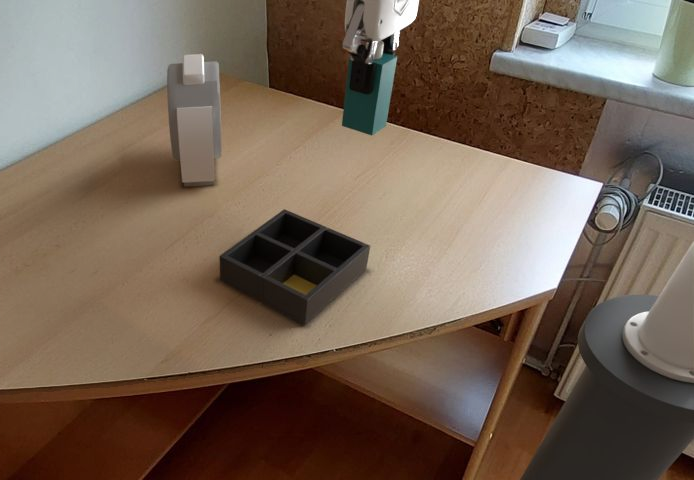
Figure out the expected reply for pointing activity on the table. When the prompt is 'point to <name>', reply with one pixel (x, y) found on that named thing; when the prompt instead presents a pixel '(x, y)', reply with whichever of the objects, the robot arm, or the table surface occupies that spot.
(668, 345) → the robot arm
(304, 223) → the tray
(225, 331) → the table surface
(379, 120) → the detergent bottle
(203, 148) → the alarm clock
